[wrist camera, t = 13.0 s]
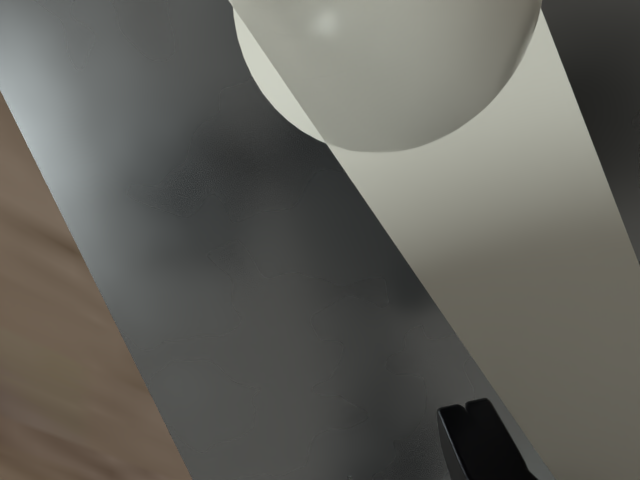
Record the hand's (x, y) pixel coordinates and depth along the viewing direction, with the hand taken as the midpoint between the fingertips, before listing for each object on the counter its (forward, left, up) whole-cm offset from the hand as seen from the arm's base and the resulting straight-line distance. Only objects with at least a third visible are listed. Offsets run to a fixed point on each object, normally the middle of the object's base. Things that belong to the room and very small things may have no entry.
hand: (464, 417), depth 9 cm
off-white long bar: (+3, -1, -1) cm, 4 cm away
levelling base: (-4, -1, -3) cm, 5 cm away
